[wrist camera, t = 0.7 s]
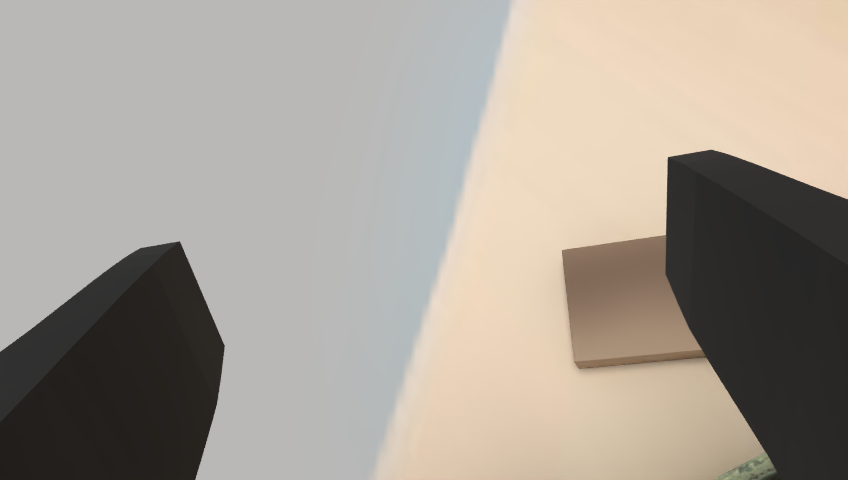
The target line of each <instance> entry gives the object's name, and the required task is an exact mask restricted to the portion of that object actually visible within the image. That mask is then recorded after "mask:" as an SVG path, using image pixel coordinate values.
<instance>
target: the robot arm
mask: <svg viewBox="0 0 848 480" xmlns="http://www.w3.org/2000/svg"><path fill="white" fill-rule="evenodd" d="M665 274H666V277H667V279H668V281H669V284H670V286H671V289H672V291H673V293H674V296H675V298H676V300H677V303H678V305H679V307H680V310H681V312H682V314H683V316H684V318H685V321H686V323H687V325H688V327H689V329H690V331H691V333H692V334H693V336H694V338H695V339H696V341H697V343H698V344H699V346H700V348H701V349H702V351H703V352H704V354H705V356H706V357H707V359H708V361H709V362H710V364H711V365H712V367H713V369H714V370H715V372H716V374H717V375H718V377H719V378H720V380H721V382H722V383H723V385H724V386H725V388H726V390H727V391H728V393H729V394H730V396H731V398H732V399H733V401H734V402H735V404H736V405H737V407H738V409H739V410H740V412H741V413H742V415H743V417H744V418H745V420H746V421H747V423H748V425H749V426H750V428H751V429H752V431H753V433H754V434H755V436H756V437H757V439H758V441H759V442H760V444H761V445H762V447H763V449H764V450H765V452H766V453H767V455H768V457H769V459H770V460H771V462H772V464H773V466H774V468H775V469H776V471H777V473H778V475H779V476H780V478H781V480H848V199H845V198H842V197H840V196H837V195H834V194H832V193H829V192H826V191H824V190H821V189H818V188H816V187H813V186H810V185H808V184H805V183H803V182H800V181H797V180H795V179H792V178H790V177H787V176H785V175H782V174H779V173H777V172H774V171H772V170H769V169H767V168H764V167H761V166H759V165H756V164H754V163H751V162H748V161H745V160H743V159H740V158H737V157H734V156H731V155H728V154H725V153H722V152H718V151H714V150H707V151H701V152H695V153H690V154H684V155H678V156H672V157H668V175H667V221H666V268H665ZM224 347H225V346H224V344H223V341H222V339H221V336H220V334H219V332H218V329H217V327H216V325H215V322H214V320H213V318H212V316H211V313H210V311H209V309H208V306H207V304H206V301H205V299H204V297H203V294H202V292H201V290H200V287H199V285H198V283H197V280H196V278H195V276H194V273H193V271H192V269H191V266H190V264H189V262H188V259H187V257H186V255H185V252H184V250H183V248H182V245H181V243H180V242H174V243H168V244H162V245H157V246H151V247H145V248H140V249H138V250H137V251H135V252H133V253H132V254H130V255H128V256H127V257H125V258H124V259H122V260H121V261H119V262H118V263H116V264H115V265H114V266H112V267H111V268H110V269H108V270H107V271H106V272H104V273H103V274H102V275H100V276H99V277H98V278H97V279H95V280H94V281H92V282H91V283H90V284H89V285H87V286H86V287H85V288H83V289H82V290H81V291H80V292H78V293H77V294H76V295H74V296H73V297H72V298H71V299H69V300H68V301H67V302H65V303H64V304H63V305H62V306H60V307H59V308H58V309H57V310H55V311H54V312H53V313H51V314H50V315H49V316H47V317H46V318H45V319H44V320H42V321H41V322H40V323H39V324H37V325H36V326H35V327H33V328H32V329H31V330H29V331H28V332H27V333H25V334H24V335H23V336H21V337H20V338H19V339H17V340H16V341H15V342H13V343H12V344H11V345H9V346H8V347H6V348H5V349H4V350H2V351H1V352H0V480H195V478H196V475H197V472H198V469H199V465H200V462H201V458H202V455H203V452H204V448H205V445H206V441H207V437H208V434H209V431H210V427H211V424H212V420H213V416H214V413H215V409H216V405H217V400H218V393H219V386H220V380H221V373H222V363H223V356H224Z"/></svg>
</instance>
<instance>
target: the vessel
mask: <svg viewBox="0 0 848 480" xmlns="http://www.w3.org/2000/svg"><path fill="white" fill-rule="evenodd" d="M715 480H781V478H780V476H779V475H778V473H777V471H776V469H775V468H774V466H773V464H772V462H771V460H770V459H769V457H768V455H767V453H766V452H765V453H763V454H761V455H759V456H758V457H756V458H754V459H752V460H750V461H748V462H746V463H744V464H742V465H741V466H739V467H737V468H735V469H733V470H731V471H729V472H727V473H725V474H724V475H722V476H720V477H718V478H716V479H715Z"/></svg>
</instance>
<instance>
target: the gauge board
mask: <svg viewBox="0 0 848 480" xmlns="http://www.w3.org/2000/svg"><path fill="white" fill-rule="evenodd" d="M562 256H563V265H564V274H565V283H566V292H567V301H568V310H569V319H570V328H571V337H572V347H573V356H574V362H575V364H576V365H577V366H578V368H590V367H601V366H612V365H623V364H634V363H645V362H655V361H666V360H677V359H688V358H699V357H706V356H705V354H704V352H703V351H702V349H701V348H700V346H699V344H698V343H697V341H696V339H695V338H694V336H693V334H692V333H691V331H690V329H689V327H688V325H687V323H686V321H685V318H684V316H683V314H682V312H681V310H680V307H679V305H678V303H677V300H676V298H675V296H674V293H673V291H672V289H671V286H670V284H669V281H668V279H667V277H666V274H665V268H666V235H664V236H657V237H650V238H643V239H636V240H629V241H622V242H615V243H609V244H602V245H595V246H588V247H581V248H574V249H567V250H562Z"/></svg>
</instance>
